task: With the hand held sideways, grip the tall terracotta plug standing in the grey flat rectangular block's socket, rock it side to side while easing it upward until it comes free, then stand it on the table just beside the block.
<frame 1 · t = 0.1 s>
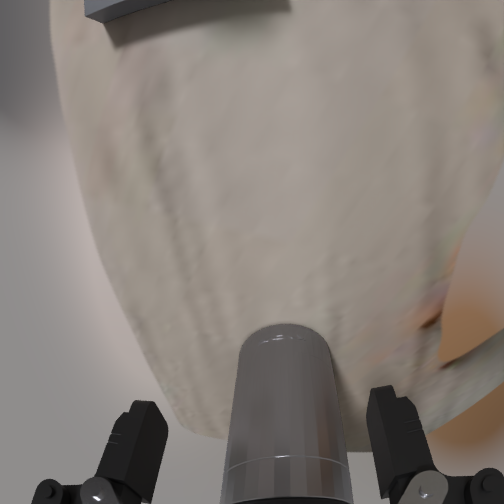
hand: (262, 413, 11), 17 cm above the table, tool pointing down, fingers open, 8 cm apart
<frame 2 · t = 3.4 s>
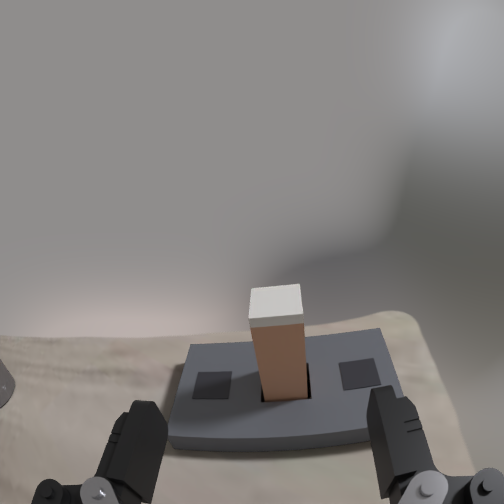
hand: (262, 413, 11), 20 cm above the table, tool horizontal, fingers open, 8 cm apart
plug: (282, 357, 31), in the grey flat rectangular block
grey flat rectangular block: (287, 398, 34), on the table
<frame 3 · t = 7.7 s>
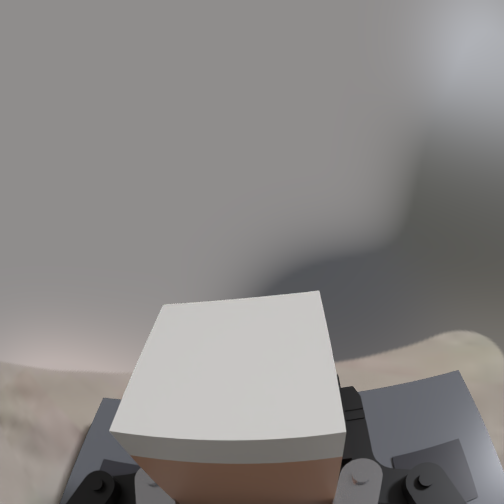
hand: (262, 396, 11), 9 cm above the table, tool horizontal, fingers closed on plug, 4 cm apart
plug: (266, 478, 10), in the grey flat rectangular block, touching gripper
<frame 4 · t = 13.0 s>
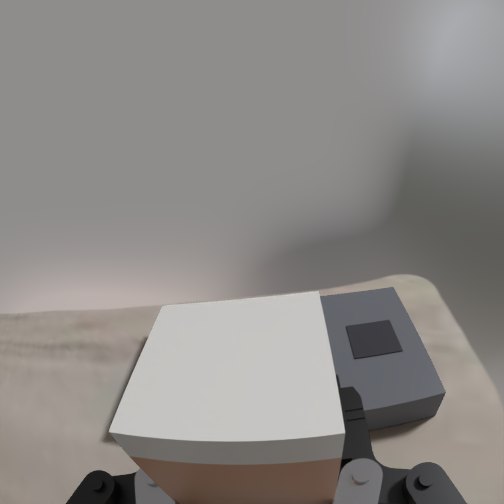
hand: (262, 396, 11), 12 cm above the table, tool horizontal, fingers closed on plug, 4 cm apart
plug: (266, 478, 10), point 10 cm above the table, touching gripper
grey flat rectangular block: (280, 373, 27), on the table
when the fingers open (10 cm above the table, at t = 13.9 s): plug stays where it is, on the table.
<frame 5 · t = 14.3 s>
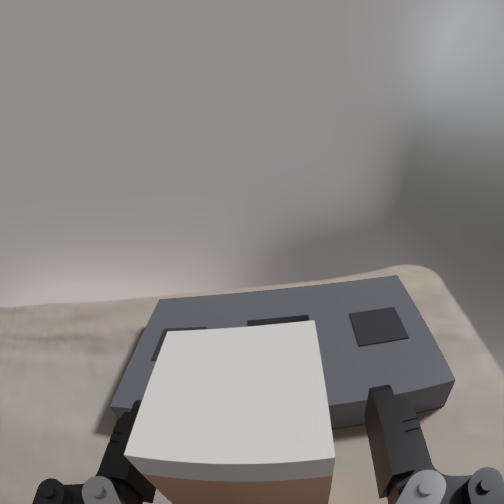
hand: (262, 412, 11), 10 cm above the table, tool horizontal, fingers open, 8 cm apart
plug: (264, 486, 10), on the table
grey flat rectangular block: (281, 364, 26), on the table
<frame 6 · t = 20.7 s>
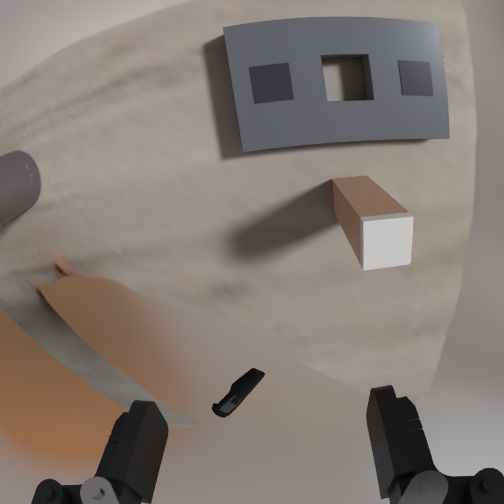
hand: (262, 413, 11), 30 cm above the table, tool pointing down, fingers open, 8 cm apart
plug: (366, 214, 31), on the table
grey flat rectangular block: (342, 79, 31), on the table
electric trimmer: (236, 387, 54), on the table
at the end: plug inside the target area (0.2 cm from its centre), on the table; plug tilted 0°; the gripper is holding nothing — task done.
